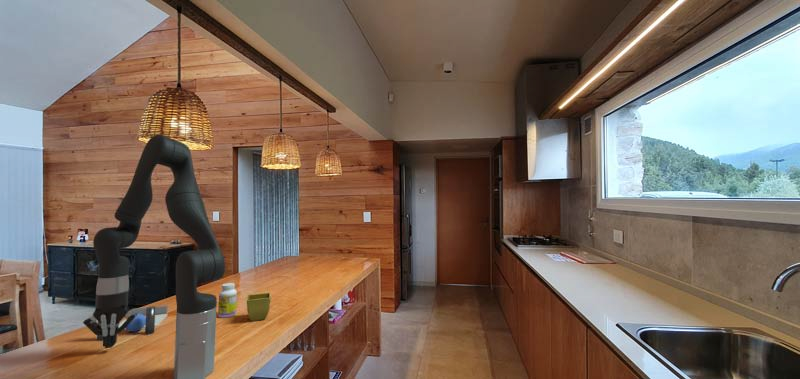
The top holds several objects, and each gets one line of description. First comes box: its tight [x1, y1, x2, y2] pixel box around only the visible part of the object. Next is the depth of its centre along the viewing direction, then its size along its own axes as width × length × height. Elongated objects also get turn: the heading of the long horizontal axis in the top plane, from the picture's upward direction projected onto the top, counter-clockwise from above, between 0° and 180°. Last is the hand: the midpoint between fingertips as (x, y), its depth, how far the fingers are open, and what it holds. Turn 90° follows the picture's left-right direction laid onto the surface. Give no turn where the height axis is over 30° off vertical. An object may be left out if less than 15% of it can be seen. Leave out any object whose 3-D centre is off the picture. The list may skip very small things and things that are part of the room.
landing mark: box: [118, 313, 169, 331], centre depth 121 cm, size 14×14×1 cm
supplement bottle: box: [217, 282, 238, 318], centre depth 130 cm, size 7×7×13 cm
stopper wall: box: [130, 305, 169, 316], centre depth 130 cm, size 2×12×3 cm, turn 113°
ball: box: [126, 314, 146, 333], centre depth 113 cm, size 6×6×6 cm
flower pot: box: [246, 292, 272, 322], centre depth 126 cm, size 9×9×9 cm
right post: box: [144, 305, 156, 336], centre depth 111 cm, size 3×3×9 cm
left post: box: [96, 321, 103, 342], centre depth 106 cm, size 3×3×9 cm
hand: (109, 346), depth 97 cm, fingers closed
